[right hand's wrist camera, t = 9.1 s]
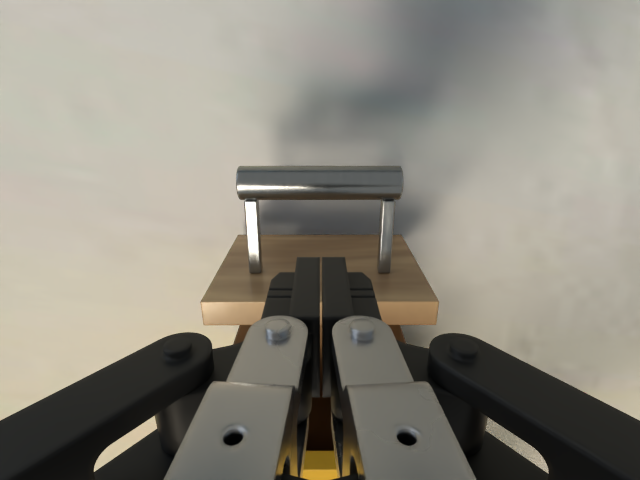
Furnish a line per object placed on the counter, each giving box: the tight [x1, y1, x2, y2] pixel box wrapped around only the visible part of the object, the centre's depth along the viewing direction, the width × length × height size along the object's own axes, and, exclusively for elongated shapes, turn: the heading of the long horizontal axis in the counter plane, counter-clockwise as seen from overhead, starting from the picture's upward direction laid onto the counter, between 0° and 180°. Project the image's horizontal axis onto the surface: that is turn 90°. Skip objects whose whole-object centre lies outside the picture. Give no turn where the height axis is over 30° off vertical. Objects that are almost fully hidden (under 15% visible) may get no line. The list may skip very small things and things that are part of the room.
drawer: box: [201, 166, 439, 451], centre depth 23 cm, size 23×10×8 cm, turn 0°
